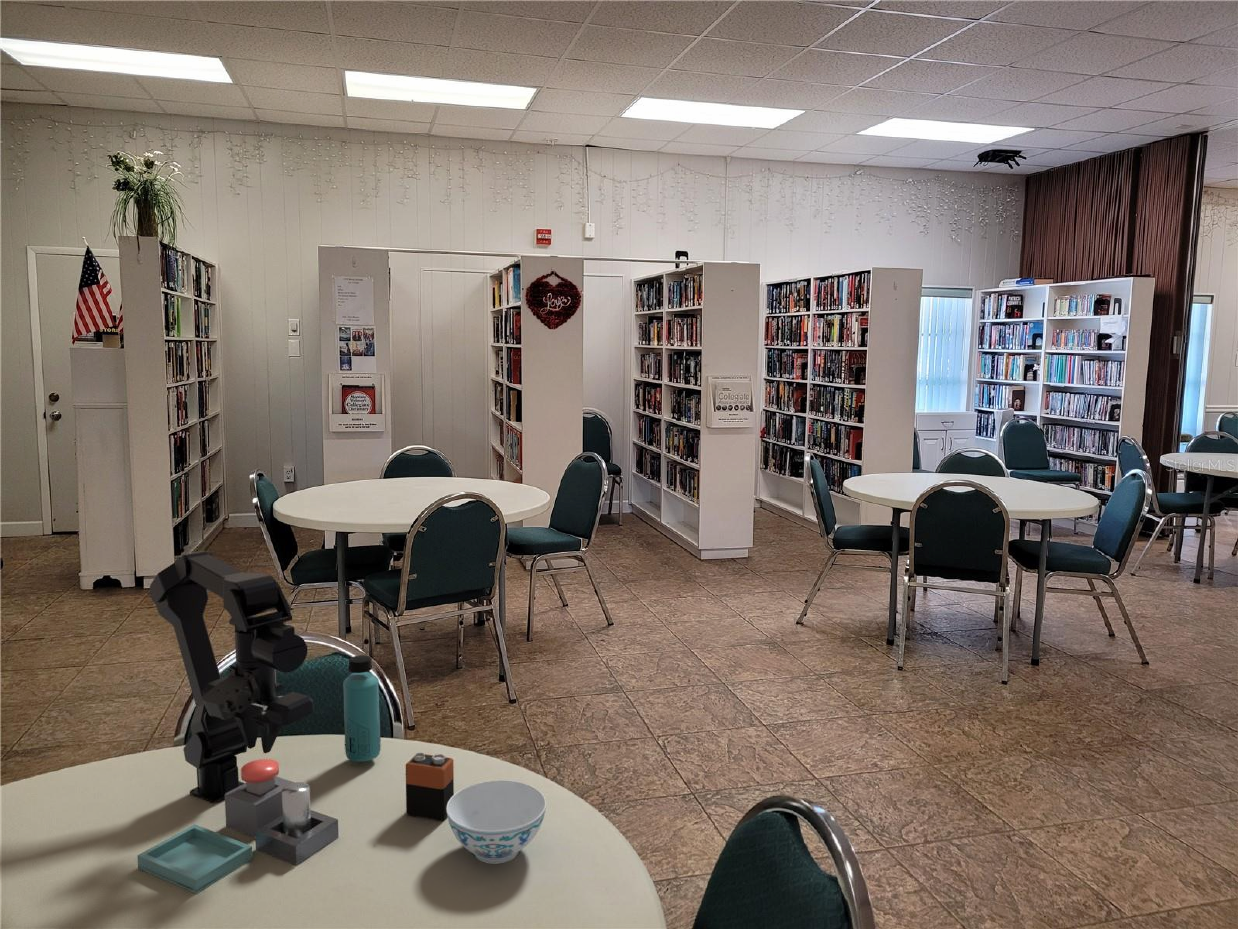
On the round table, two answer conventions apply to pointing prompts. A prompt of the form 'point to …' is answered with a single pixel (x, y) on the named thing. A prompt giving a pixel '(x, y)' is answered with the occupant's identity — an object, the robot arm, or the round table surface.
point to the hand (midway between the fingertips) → (259, 750)
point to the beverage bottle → (361, 711)
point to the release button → (260, 775)
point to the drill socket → (302, 847)
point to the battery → (429, 785)
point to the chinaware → (496, 818)
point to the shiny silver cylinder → (296, 809)
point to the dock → (253, 807)
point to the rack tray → (195, 858)
